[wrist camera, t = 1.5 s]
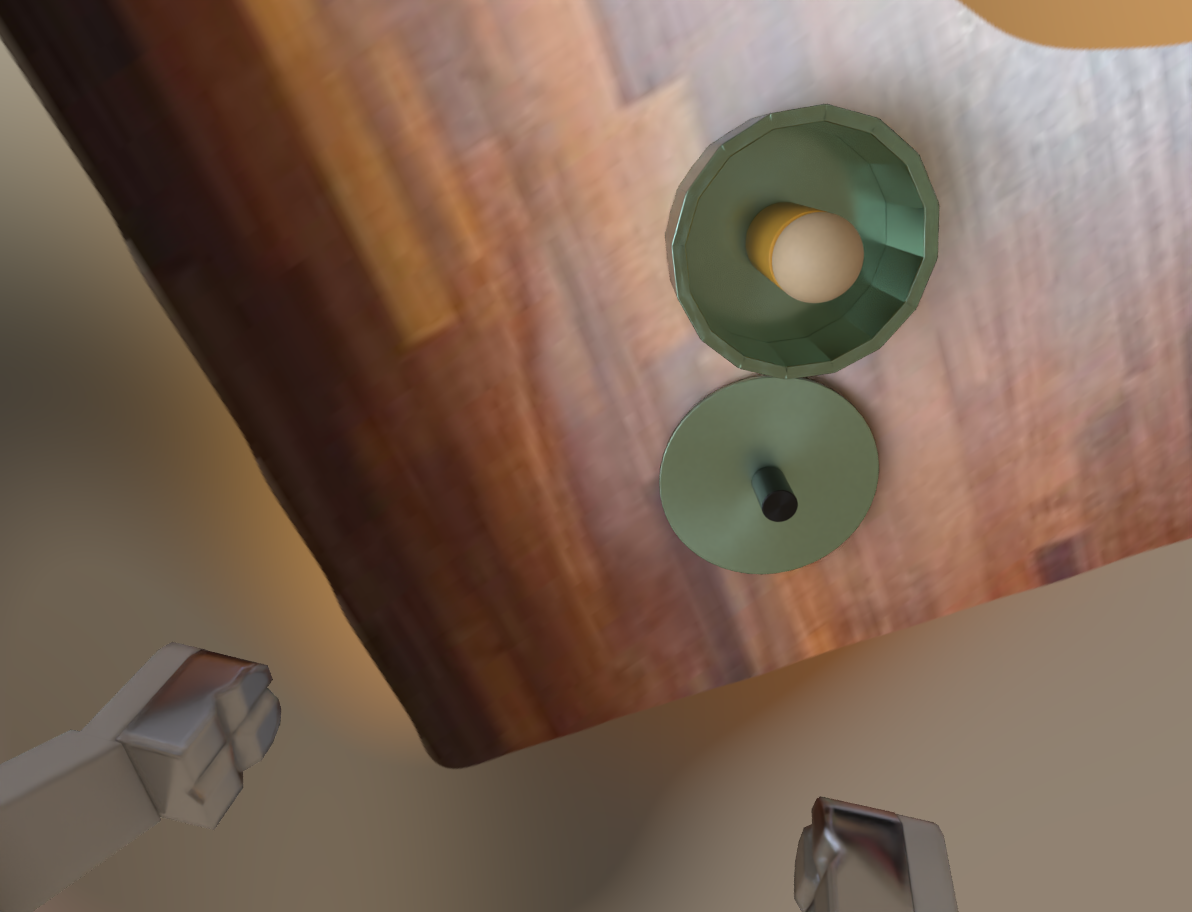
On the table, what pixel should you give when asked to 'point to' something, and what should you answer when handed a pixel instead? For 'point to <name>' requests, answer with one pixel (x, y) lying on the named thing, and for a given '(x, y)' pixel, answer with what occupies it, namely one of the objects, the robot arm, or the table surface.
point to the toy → (805, 251)
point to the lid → (768, 474)
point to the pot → (818, 180)
